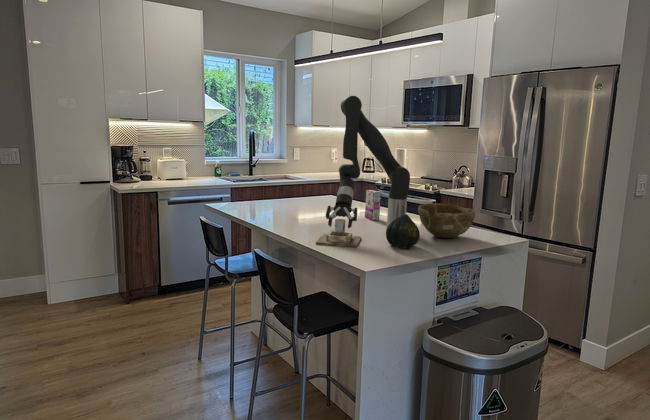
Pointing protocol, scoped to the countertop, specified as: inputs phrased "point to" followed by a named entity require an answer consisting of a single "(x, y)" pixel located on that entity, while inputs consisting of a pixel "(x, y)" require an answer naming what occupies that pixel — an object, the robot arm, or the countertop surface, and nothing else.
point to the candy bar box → (372, 204)
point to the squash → (402, 232)
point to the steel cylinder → (339, 227)
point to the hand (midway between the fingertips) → (339, 226)
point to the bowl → (445, 219)
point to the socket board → (339, 240)
